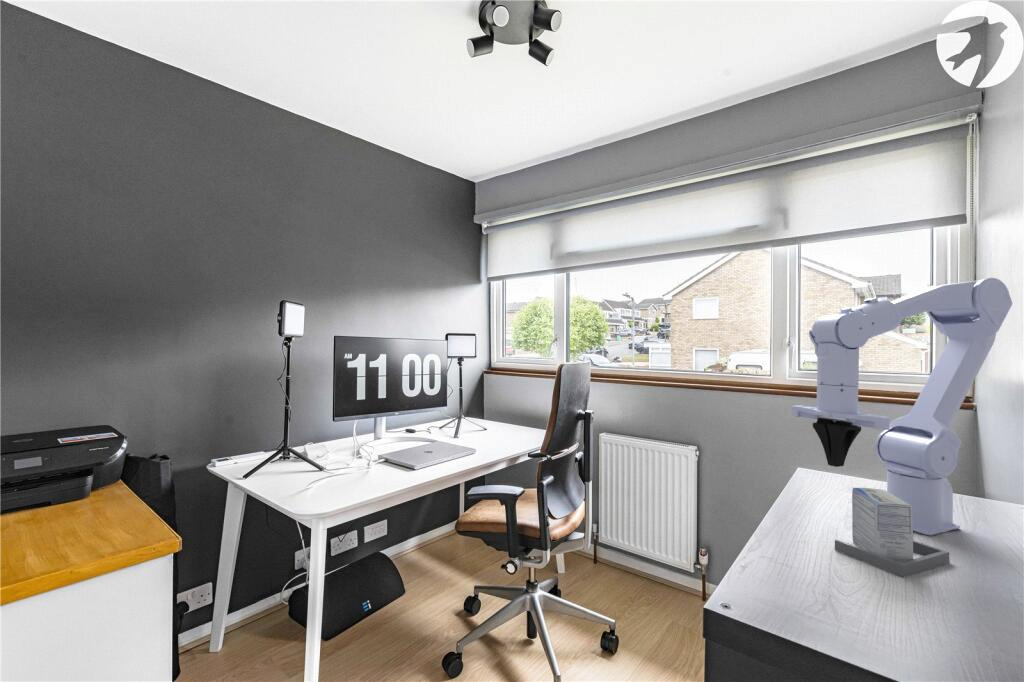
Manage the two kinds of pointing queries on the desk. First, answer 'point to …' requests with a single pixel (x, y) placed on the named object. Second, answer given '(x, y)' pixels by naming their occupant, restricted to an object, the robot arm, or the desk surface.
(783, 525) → the desk surface
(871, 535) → the medicine box
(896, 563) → the dock
